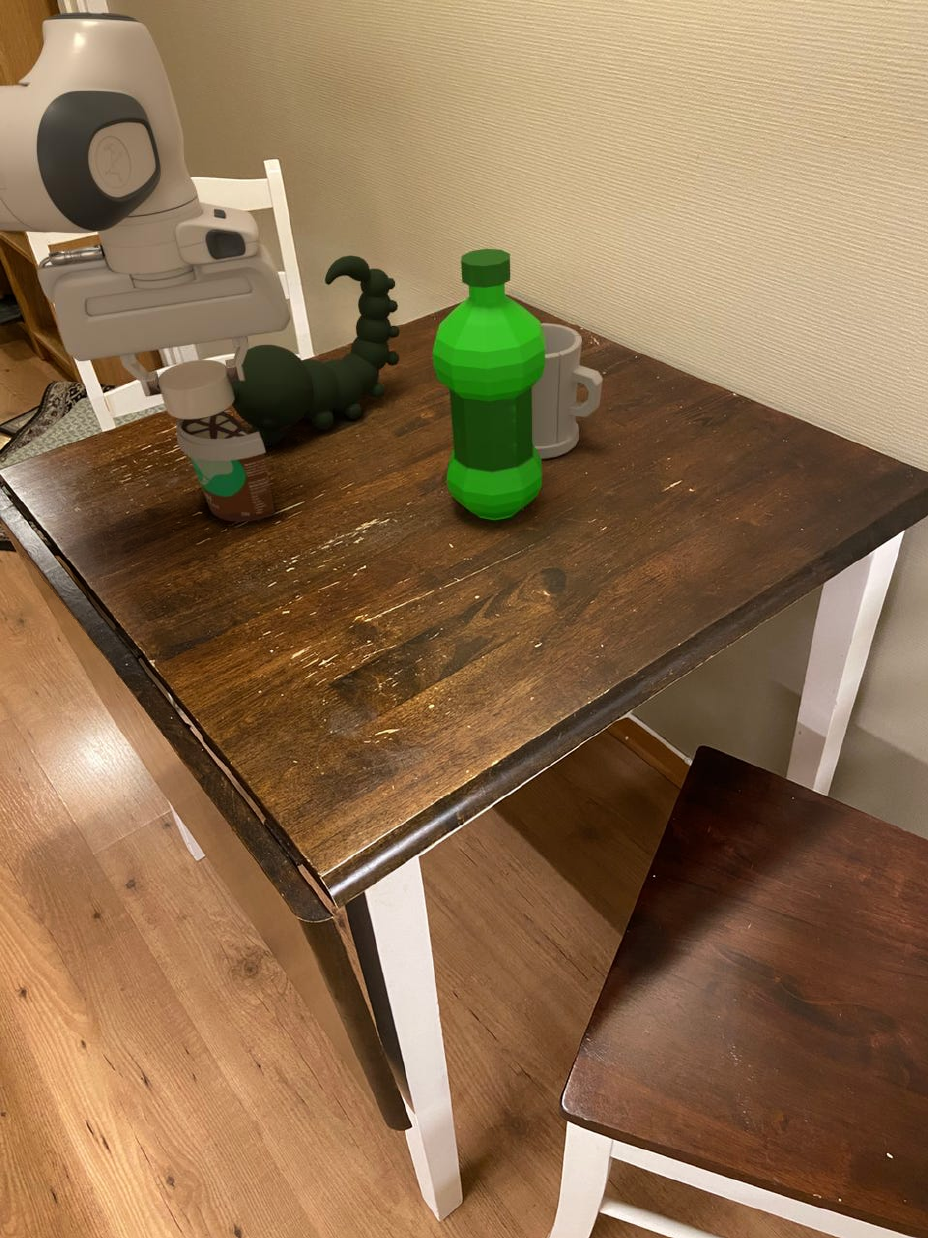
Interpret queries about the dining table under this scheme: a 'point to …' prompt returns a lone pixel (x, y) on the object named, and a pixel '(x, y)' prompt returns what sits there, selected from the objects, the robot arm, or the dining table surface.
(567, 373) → the cup
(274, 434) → the toy figurine
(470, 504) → the plastic bottle
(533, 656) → the dining table surface
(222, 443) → the food container
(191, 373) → the beige hockey puck
